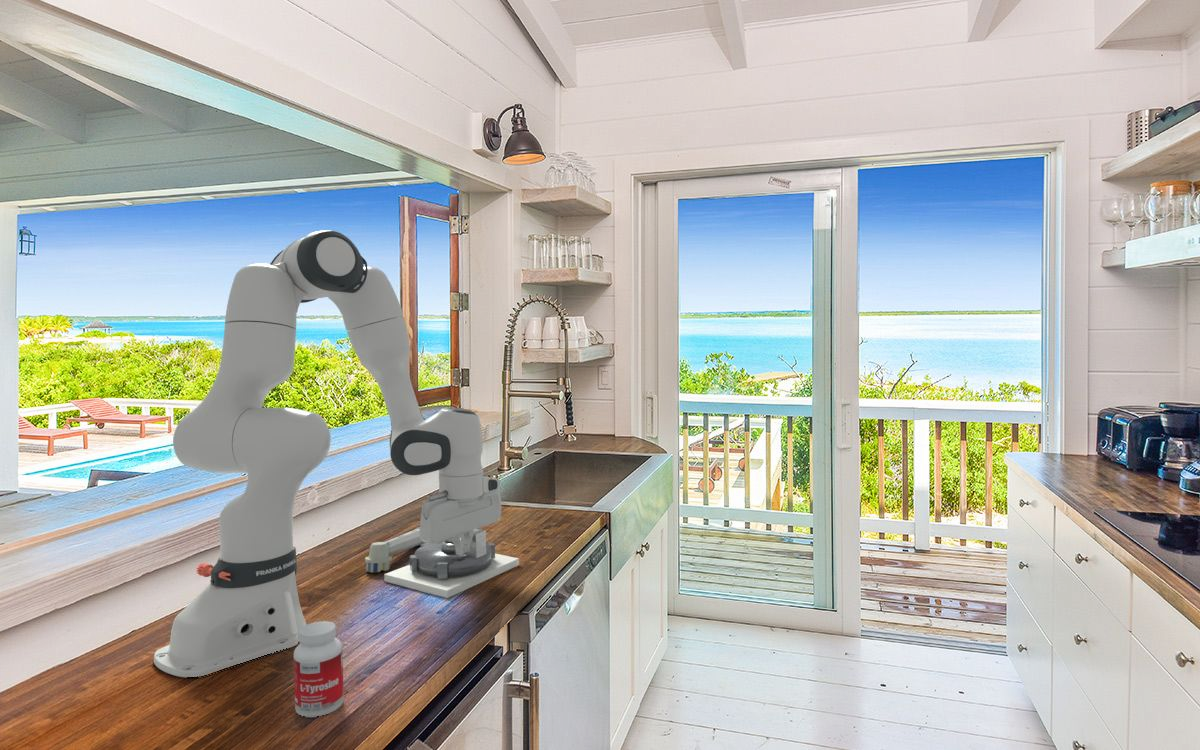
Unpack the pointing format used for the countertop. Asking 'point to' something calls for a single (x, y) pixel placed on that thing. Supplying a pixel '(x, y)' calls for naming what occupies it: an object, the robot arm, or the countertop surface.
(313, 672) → the pill bottle
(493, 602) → the countertop surface
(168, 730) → the countertop surface
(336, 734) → the countertop surface
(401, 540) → the toothbrush head
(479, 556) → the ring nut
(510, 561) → the base plate
